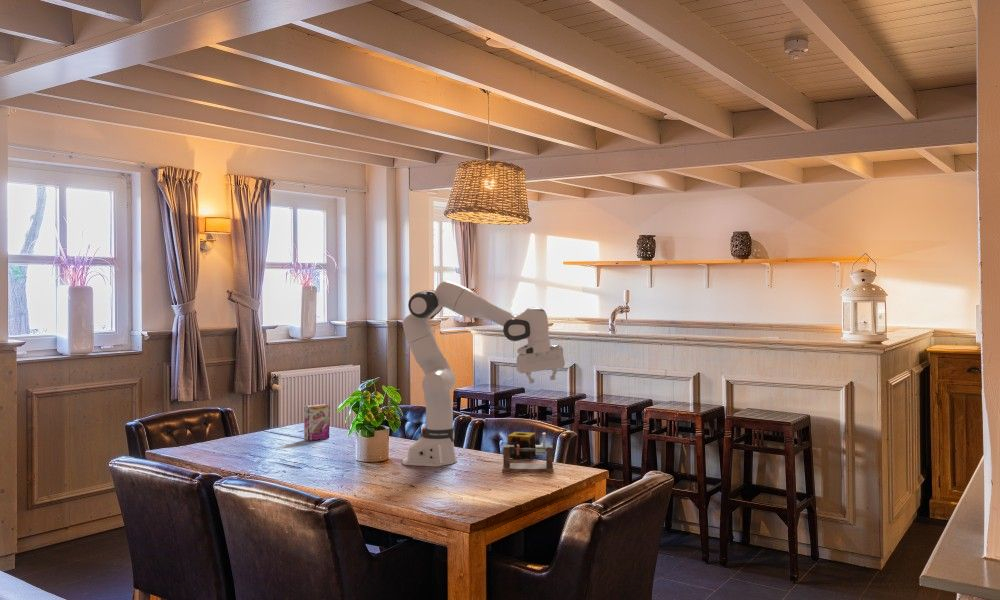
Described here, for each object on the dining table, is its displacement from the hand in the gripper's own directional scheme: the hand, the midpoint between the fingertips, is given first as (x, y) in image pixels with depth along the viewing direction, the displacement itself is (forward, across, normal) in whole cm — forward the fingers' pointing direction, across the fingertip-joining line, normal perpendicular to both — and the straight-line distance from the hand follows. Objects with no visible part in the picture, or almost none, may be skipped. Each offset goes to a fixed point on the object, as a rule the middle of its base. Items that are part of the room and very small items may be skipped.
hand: (542, 381), depth 322 cm
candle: (+34, +3, -20) cm, 40 cm away
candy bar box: (+26, +76, -96) cm, 125 cm away
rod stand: (+34, +10, +2) cm, 35 cm away
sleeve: (+28, +6, +4) cm, 29 cm away
